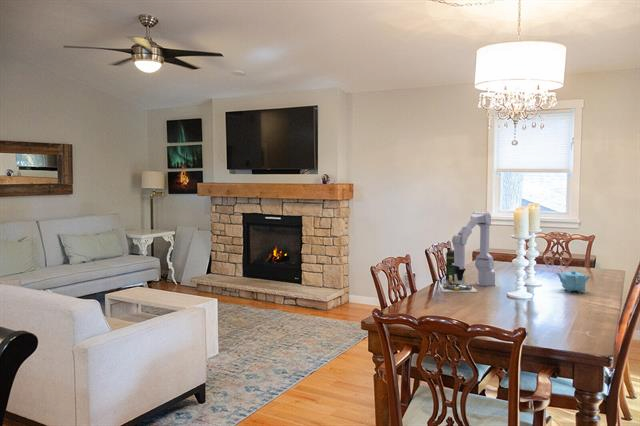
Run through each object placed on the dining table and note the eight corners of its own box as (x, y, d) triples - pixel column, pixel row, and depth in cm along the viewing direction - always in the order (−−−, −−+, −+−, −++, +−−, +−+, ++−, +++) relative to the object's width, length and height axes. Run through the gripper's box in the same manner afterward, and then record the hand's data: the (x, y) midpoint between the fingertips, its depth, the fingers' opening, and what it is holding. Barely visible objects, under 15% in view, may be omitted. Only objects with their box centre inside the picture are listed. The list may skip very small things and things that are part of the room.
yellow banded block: (463, 282, 294) (463, 273, 293) (464, 283, 290) (464, 274, 290) (454, 282, 294) (454, 273, 294) (455, 283, 291) (455, 274, 291)
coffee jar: (456, 281, 322) (456, 251, 321) (444, 280, 326) (444, 251, 325) (461, 278, 330) (461, 249, 329) (449, 277, 334) (449, 249, 333)
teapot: (593, 294, 280) (594, 273, 279) (558, 293, 283) (558, 273, 283) (585, 288, 295) (585, 268, 294) (551, 287, 299) (551, 268, 298)
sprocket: (452, 283, 311) (452, 273, 311) (478, 287, 298) (478, 276, 298) (436, 287, 300) (436, 276, 300) (462, 291, 287) (462, 280, 287)
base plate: (471, 285, 308) (471, 284, 308) (477, 292, 289) (477, 291, 289) (438, 285, 310) (438, 284, 310) (442, 292, 291) (442, 291, 291)
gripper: (450, 254, 299) (450, 277, 300) (454, 257, 285) (454, 282, 285) (462, 254, 298) (462, 277, 299) (467, 257, 284) (467, 282, 285)
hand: (459, 279), depth 292 cm, fingers closed on yellow banded block, 3 cm apart
